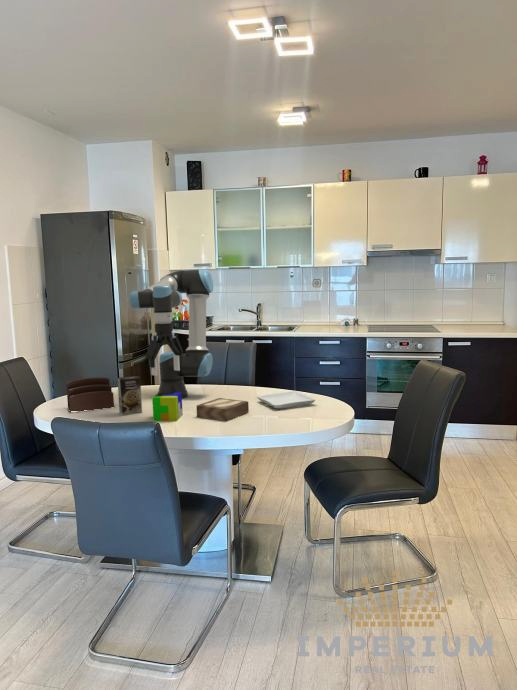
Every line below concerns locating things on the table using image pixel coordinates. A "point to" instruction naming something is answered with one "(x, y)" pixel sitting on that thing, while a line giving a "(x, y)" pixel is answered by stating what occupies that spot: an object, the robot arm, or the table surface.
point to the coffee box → (129, 395)
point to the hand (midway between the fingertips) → (166, 372)
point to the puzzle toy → (167, 406)
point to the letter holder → (89, 394)
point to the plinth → (222, 409)
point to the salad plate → (286, 399)
